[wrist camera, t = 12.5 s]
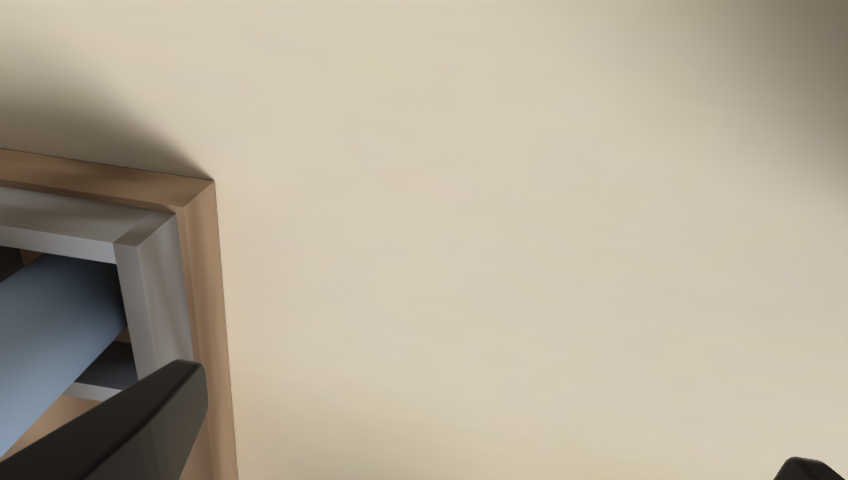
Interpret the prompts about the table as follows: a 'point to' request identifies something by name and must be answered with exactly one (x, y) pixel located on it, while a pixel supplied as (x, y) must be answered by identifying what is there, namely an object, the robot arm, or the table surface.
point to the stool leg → (52, 333)
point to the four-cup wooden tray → (130, 280)
